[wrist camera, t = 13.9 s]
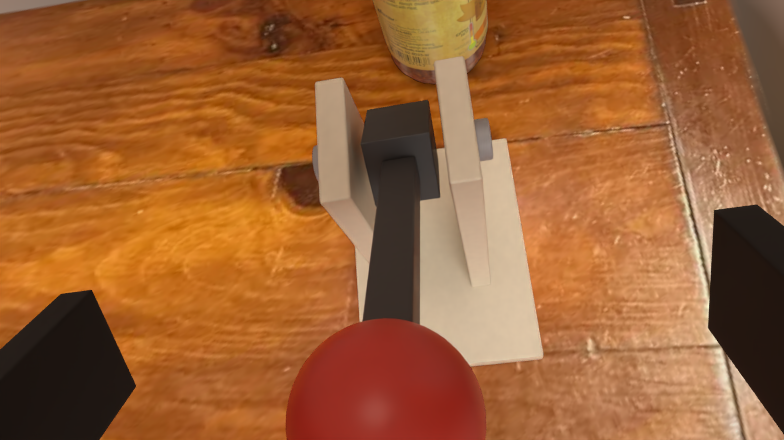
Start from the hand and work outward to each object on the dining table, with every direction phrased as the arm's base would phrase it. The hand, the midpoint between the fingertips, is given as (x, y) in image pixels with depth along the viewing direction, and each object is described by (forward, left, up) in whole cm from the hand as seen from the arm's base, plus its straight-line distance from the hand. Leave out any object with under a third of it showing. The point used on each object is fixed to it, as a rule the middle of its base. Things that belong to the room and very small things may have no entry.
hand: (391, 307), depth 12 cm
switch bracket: (0, -6, -19) cm, 20 cm away
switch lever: (0, -1, -3) cm, 4 cm away
